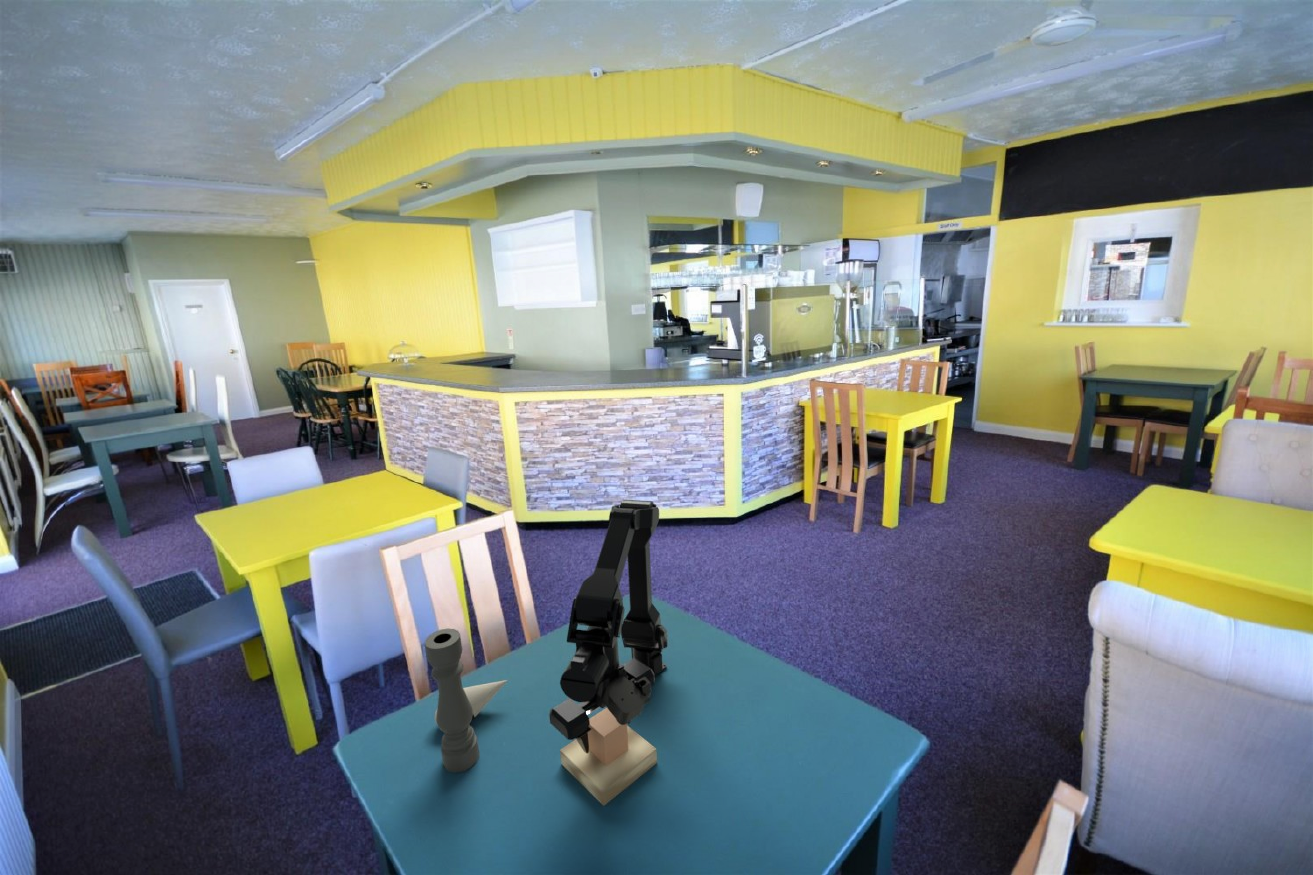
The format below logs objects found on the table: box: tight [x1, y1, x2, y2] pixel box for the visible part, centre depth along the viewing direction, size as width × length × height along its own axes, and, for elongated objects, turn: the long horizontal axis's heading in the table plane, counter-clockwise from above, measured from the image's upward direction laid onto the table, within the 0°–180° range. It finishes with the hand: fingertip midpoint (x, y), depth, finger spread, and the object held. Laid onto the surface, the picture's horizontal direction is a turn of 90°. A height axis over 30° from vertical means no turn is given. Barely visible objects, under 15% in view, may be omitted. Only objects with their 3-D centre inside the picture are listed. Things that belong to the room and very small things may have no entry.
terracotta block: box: [588, 707, 628, 766], centre depth 100 cm, size 5×5×6 cm
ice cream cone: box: [434, 679, 509, 725], centre depth 114 cm, size 6×6×15 cm
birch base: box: [559, 725, 658, 807], centre depth 101 cm, size 12×12×3 cm
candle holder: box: [424, 628, 480, 774], centre depth 100 cm, size 6×6×25 cm
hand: (607, 736), depth 100 cm, fingers open, 9 cm apart
